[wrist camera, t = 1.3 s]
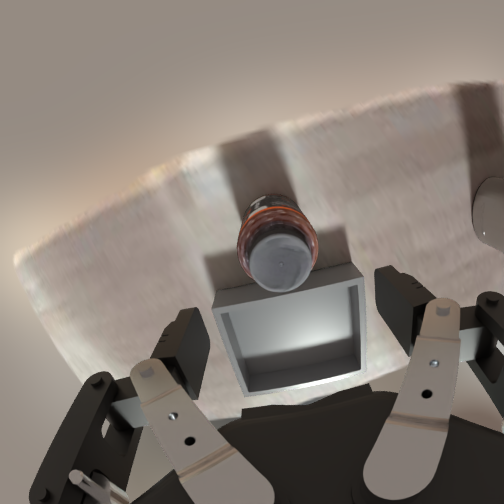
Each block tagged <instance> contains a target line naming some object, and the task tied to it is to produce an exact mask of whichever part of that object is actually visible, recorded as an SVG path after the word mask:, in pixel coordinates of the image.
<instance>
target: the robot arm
mask: <svg viewBox="0 0 504 504" xmlns="http://www.w3.org/2000/svg"><path fill="white" fill-rule="evenodd" d="M473 225H474V230H475V232H476V235H477V236H478V238H479V239H480V240H481V241H482V242H483V243H485V244H487V245H489V246H491V247H493V248H495V249H497V250H499V251H500V252H502V253H504V179H502V178H497V177H490V178H488V179H486V180H485V181H484V182H483V183H482V184H481V186H480V187H479V189H478V191H477V194H476V197H475V200H474V205H473ZM374 277H375V300H376V306H377V310H378V312H379V314H380V315H381V317H382V318H383V319H384V321H385V322H386V324H387V325H388V327H389V328H390V330H391V331H392V333H393V334H394V336H395V337H396V339H397V340H398V342H399V343H400V345H401V346H402V348H403V349H404V351H405V352H406V354H407V355H408V357H410V356H411V359H410V362H409V365H408V368H407V371H406V374H405V377H404V381H403V383H402V386H401V388H400V391H399V393H394V392H387V391H374V392H372V389H371V387H370V385H369V383H368V384H365V385H361V386H358V387H354V388H350V389H347V390H343V391H339V392H337V393H334V394H332V395H330V396H328V397H325V398H323V399H321V400H319V401H317V402H314V403H312V404H309V405H268V406H261V407H253V408H245V409H242V416H241V418H240V419H237V420H234V421H232V422H230V423H228V424H226V425H224V426H222V427H221V428H219V429H218V430H216V428H215V427H214V426H213V425H212V424H211V423H210V421H209V420H208V419H207V418H206V417H205V415H204V414H203V413H202V412H201V411H200V409H199V408H198V407H197V406H196V404H195V403H194V402H193V401H192V400H198V397H199V393H200V389H201V384H202V380H203V376H204V371H205V367H206V363H207V359H208V355H209V350H210V339H209V335H208V333H207V330H206V327H205V325H204V322H203V319H202V317H201V314H200V311H199V309H198V308H197V307H194V308H188V309H182V310H180V312H179V314H178V316H177V318H176V320H175V321H173V322H171V323H170V324H169V325H168V326H167V327H166V328H165V329H164V331H163V333H162V335H161V336H162V337H160V339H159V343H157V345H156V347H155V349H154V351H153V353H152V355H151V357H150V359H146V360H143V361H141V362H139V363H138V364H136V365H135V366H134V367H133V368H132V370H131V372H130V377H126V378H122V379H118V380H114V378H113V377H112V375H111V374H110V373H109V372H105V371H103V372H98V373H96V374H94V375H92V376H90V377H89V378H88V379H87V380H86V382H85V383H84V385H83V386H82V388H81V390H80V392H79V393H78V395H77V397H76V399H75V400H74V402H73V404H72V406H71V408H70V409H69V411H68V413H67V415H66V417H65V419H64V420H63V422H62V424H61V426H60V428H59V430H58V432H57V434H56V436H55V438H54V440H53V441H52V443H51V446H50V447H49V450H48V452H47V454H46V456H45V458H44V460H43V462H42V464H41V466H40V468H39V471H38V473H37V475H36V477H35V479H34V482H33V484H32V486H31V489H30V492H29V501H30V504H129V498H128V496H127V494H126V493H125V491H126V487H127V484H128V480H129V476H130V472H131V468H132V465H133V461H134V457H135V454H136V450H137V447H138V443H139V440H140V436H141V433H142V430H143V426H145V425H150V427H151V429H152V431H153V432H154V434H155V436H156V438H157V440H158V442H159V444H160V445H161V447H162V449H163V451H164V453H165V454H166V456H167V458H168V459H169V461H170V463H171V464H172V466H173V467H174V469H173V470H172V471H171V472H169V473H168V474H167V475H166V476H165V477H163V478H162V479H161V480H160V481H159V482H157V483H156V484H155V485H154V486H152V487H151V488H150V489H149V490H147V491H146V492H145V493H144V494H142V495H141V496H140V497H138V498H137V499H136V500H134V501H133V502H132V503H130V504H504V355H503V354H502V353H501V352H500V350H499V349H498V348H497V347H496V344H497V341H498V340H499V341H500V342H501V343H502V345H503V346H504V296H503V295H501V294H500V293H497V292H491V291H488V292H483V293H481V294H480V295H479V296H478V297H477V301H476V306H470V307H463V308H460V306H459V304H458V303H457V302H456V301H454V300H452V299H448V298H436V297H435V296H434V295H433V294H432V293H431V292H430V291H428V290H427V289H426V288H425V287H423V285H422V284H421V283H420V282H419V283H418V281H417V280H416V279H415V278H414V277H413V276H411V275H408V274H405V273H399V272H398V271H397V270H396V269H395V268H394V267H393V266H391V265H389V266H385V267H382V268H378V269H375V272H374ZM463 361H466V362H467V363H468V364H469V366H470V368H471V369H472V371H473V372H474V373H475V375H476V376H477V378H478V379H479V381H480V382H481V384H482V385H483V387H484V388H485V390H486V392H487V393H488V394H489V396H490V398H491V399H492V401H493V403H494V404H495V406H496V408H497V409H498V411H499V413H500V414H501V416H502V418H503V420H502V432H503V433H501V432H498V431H495V430H492V429H489V428H487V427H484V426H481V425H478V424H475V423H472V422H470V421H467V420H464V419H462V418H459V417H457V416H454V415H451V414H450V413H451V408H452V403H453V398H454V393H455V387H456V380H457V373H458V365H459V362H463ZM105 418H106V419H107V420H108V421H109V423H110V425H109V428H108V430H107V433H106V435H105V438H103V436H102V432H101V429H102V425H103V423H104V421H105Z"/></svg>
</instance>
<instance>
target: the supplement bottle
mask: <svg viewBox="0 0 504 504" xmlns="http://www.w3.org/2000/svg"><path fill="white" fill-rule="evenodd" d="M318 248H319V247H318V239H317V235H316V233H315V230H314V229H313V227H312V225H311V224H310V222H309V221H308V219H307V218H306V217H305V215H304V214H303V213H302V211H301V210H300V209H299V207H298V206H297V205H296V204H295V203H294V202H293V201H292V200H290V199H289V198H287V197H285V196H282V195H277V194H269V195H265V196H262V197H260V198H258V199H256V200H255V201H254V202H253V203H252V204H251V205H250V206H249V207H248V209H247V210H246V212H245V215H244V218H243V221H242V225H241V229H240V232H239V237H238V242H237V255H238V259H239V262H240V264H241V266H242V268H243V270H244V271H245V272H246V273H247V274H248V276H249V277H251V278H252V279H253V280H255V281H256V282H257V283H258V284H259V285H260V286H261V287H263V288H264V289H266V290H268V291H273V292H286V291H290V290H293V289H295V288H297V287H299V286H300V285H301V284H302V283H304V281H305V280H306V279H307V277H308V276H309V274H310V272H311V270H312V268H313V266H314V264H315V262H316V260H317V256H318Z"/></svg>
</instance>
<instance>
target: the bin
mask: <svg viewBox="0 0 504 504" xmlns="http://www.w3.org/2000/svg"><path fill="white" fill-rule="evenodd" d="M212 312H213V315H214V318H215V321H216V324H217V326H218V329H219V332H220V335H221V337H222V340H223V343H224V346H225V348H226V351H227V354H228V356H229V359H230V362H231V364H232V367H233V369H234V372H235V375H236V377H237V380H238V382H239V385H240V387H241V390H242V392H243V395H244V397H248V396H256V395H263V394H270V393H276V392H282V391H288V390H293V389H299V388H304V387H309V386H313V385H318V384H323V383H327V382H331V381H335V380H339V379H343V378H347V377H351V376H355V375H358V374H362V373H365V372H366V369H367V330H366V302H365V285H364V276H363V275H362V274H361V272H360V271H359V270H358V269H357V268H356V266H355V265H354V264H353V263H352V262H349V263H345V264H341V265H336V266H332V267H328V268H323V269H319V270H314V271H311V272H310V274H309V276H308V277H307V279H306V280H305V281H304V283H302V284H301V285H300V286H299V287H297V288H295V289H293V290H290V291H286V292H273V291H268V290H266V289H264V288H263V287H261V286H260V285H259V284H258V283H254V284H249V285H244V286H239V287H234V288H229V289H224V290H218V291H217V293H216V296H215V299H214V302H213V305H212Z"/></svg>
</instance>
